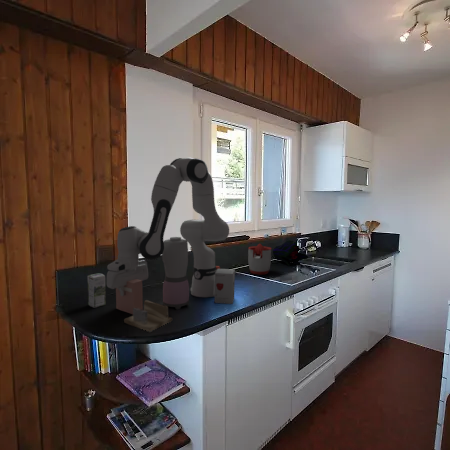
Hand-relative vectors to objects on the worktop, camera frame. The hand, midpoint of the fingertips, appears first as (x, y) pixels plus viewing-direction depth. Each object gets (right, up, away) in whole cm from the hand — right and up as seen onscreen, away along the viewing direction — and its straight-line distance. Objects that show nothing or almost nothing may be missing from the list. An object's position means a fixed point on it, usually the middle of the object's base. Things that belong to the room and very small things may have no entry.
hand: (129, 293), depth 135 cm
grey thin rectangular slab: (+9, -8, -16) cm, 20 cm away
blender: (+19, -7, +9) cm, 22 cm away
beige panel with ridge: (+12, -9, -12) cm, 19 cm away
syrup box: (-17, -7, +6) cm, 19 cm away
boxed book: (0, -8, +1) cm, 8 cm away
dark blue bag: (+94, 0, +94) cm, 133 cm away
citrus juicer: (+66, -2, +67) cm, 94 cm away
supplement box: (+43, -7, +14) cm, 46 cm away
